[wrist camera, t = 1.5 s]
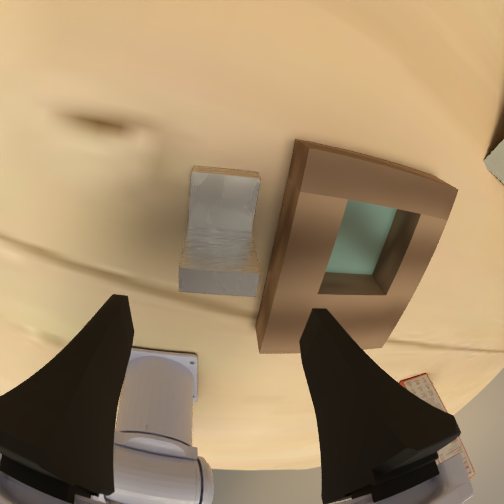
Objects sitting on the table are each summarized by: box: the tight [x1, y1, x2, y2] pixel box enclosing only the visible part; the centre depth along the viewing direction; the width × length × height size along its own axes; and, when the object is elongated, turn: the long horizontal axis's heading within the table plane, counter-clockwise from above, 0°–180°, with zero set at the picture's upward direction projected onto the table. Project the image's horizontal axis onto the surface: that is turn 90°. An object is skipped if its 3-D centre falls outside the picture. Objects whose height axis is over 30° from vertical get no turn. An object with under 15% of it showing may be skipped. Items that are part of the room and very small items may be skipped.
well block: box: [256, 139, 458, 354], centre depth 20 cm, size 16×12×3 cm
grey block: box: [179, 166, 260, 297], centre depth 16 cm, size 5×4×6 cm
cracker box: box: [399, 373, 475, 479], centre depth 30 cm, size 14×6×21 cm, turn 179°
